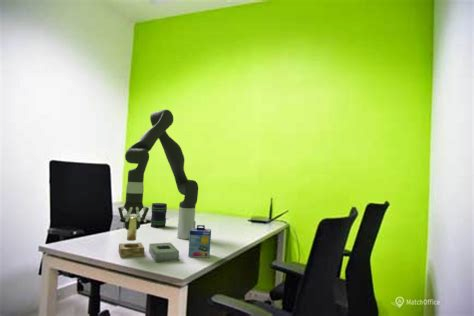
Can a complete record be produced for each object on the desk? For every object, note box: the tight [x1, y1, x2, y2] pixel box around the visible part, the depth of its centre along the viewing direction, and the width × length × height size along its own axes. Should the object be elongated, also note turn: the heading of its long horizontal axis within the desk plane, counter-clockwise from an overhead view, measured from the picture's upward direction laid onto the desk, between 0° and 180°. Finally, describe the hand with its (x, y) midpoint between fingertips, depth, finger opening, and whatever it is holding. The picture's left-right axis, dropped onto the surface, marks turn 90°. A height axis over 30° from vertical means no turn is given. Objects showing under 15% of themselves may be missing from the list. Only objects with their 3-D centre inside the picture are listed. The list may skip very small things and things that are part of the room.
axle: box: [126, 216, 138, 242], centre depth 144 cm, size 4×4×10 cm
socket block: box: [118, 242, 145, 258], centre depth 144 cm, size 10×10×4 cm
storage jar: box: [150, 202, 168, 229], centre depth 208 cm, size 10×10×15 cm
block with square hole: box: [148, 242, 180, 263], centre depth 142 cm, size 10×16×4 cm, turn 25°
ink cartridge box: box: [187, 224, 212, 259], centre depth 146 cm, size 10×6×14 cm, turn 95°
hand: (132, 229), depth 144 cm, fingers closed on axle, 4 cm apart
